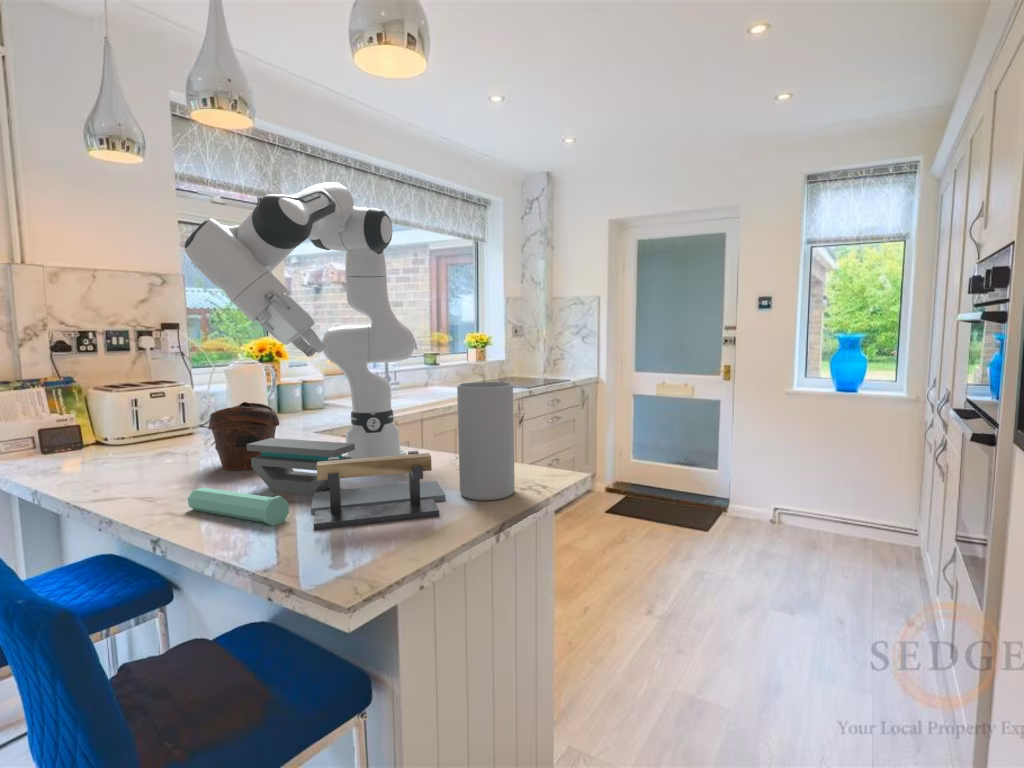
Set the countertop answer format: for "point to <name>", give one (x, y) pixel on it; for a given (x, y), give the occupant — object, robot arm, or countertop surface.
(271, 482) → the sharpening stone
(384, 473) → the oak rail
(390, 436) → the robot arm
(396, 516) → the hook stand
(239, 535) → the countertop surface
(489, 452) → the cylinder vase
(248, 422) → the brown tapered pot
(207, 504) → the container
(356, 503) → the rubber mat
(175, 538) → the countertop surface
